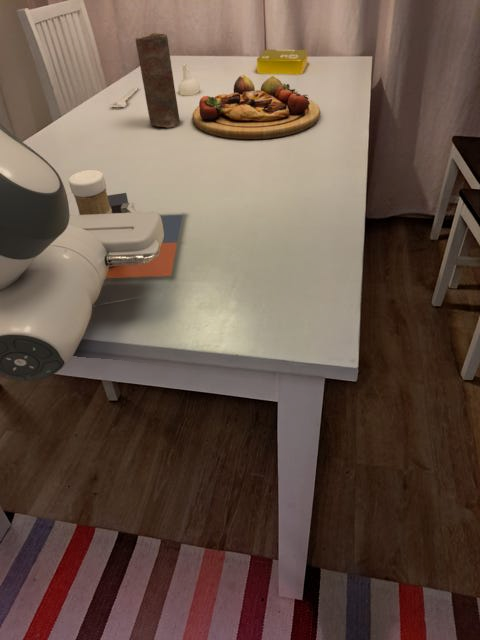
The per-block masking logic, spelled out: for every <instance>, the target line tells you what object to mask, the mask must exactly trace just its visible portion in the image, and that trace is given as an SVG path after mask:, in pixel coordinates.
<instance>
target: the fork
mask: <svg viewBox="0 0 480 640" xmlns="http://www.w3.org/2000/svg"><path fill="white" fill-rule="evenodd" d="M137 91H138V87H134V88H133V89H131V91H129V92H128V93H127V94H126V95H125V96H123V97H122V98H121V99H120V100H118V102H117V103H116V104H109V105H110V107H112V108H125V107H126V106H127V102H126V101H127V100H128V99H129V98H131V97H132V96H133V95H134V94H135V92H137Z"/></svg>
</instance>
